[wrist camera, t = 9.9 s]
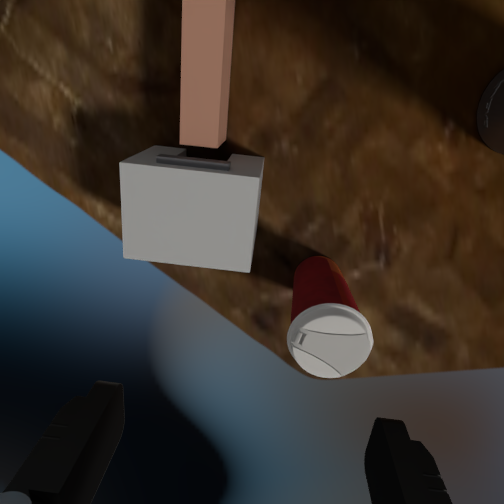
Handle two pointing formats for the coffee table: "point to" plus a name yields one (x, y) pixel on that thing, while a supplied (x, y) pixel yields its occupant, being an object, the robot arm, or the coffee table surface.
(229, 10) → the pink white-banded pillar
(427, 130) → the coffee table surface
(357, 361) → the paper cup
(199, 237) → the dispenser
